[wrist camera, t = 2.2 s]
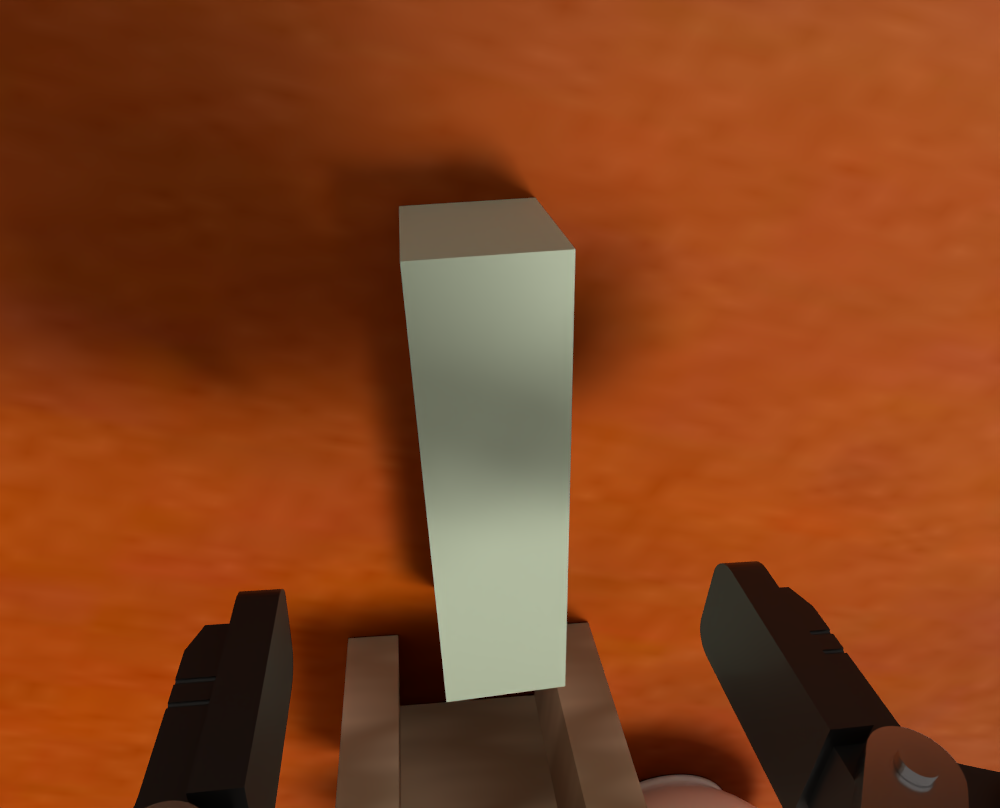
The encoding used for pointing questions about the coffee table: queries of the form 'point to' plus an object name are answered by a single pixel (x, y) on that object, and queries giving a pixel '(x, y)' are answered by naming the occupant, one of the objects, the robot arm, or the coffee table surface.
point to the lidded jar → (688, 793)
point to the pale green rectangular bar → (493, 433)
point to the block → (483, 740)
